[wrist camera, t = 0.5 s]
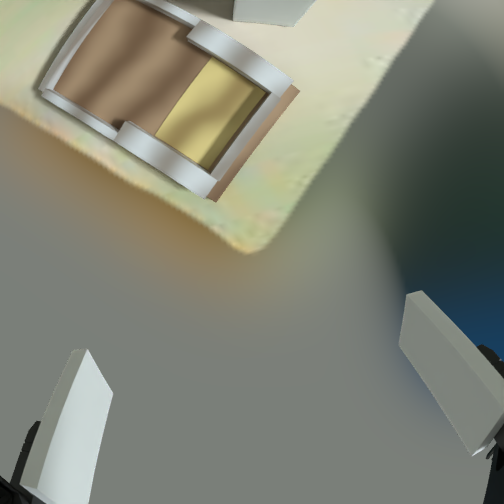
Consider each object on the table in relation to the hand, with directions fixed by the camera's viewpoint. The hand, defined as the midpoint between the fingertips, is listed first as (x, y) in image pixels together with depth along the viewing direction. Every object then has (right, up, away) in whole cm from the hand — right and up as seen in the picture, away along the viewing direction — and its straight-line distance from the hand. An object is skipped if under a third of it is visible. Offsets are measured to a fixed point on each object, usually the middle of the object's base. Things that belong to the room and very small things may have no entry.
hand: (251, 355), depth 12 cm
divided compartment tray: (-10, +23, +19) cm, 31 cm away
